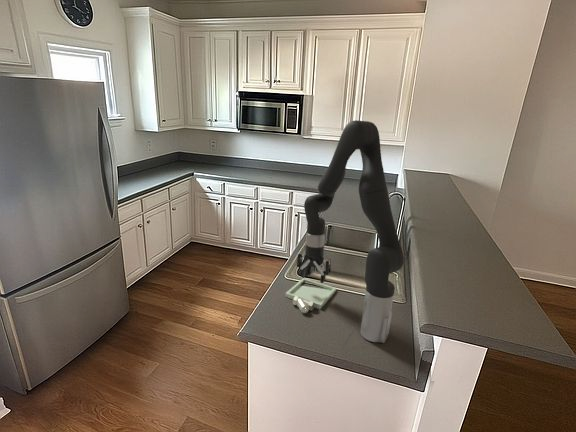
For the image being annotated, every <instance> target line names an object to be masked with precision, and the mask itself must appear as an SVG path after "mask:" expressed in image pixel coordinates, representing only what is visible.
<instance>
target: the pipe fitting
mask: <svg viewBox="0 0 576 432" xmlns="http://www.w3.org/2000/svg"><path fill="white" fill-rule="evenodd" d="M292 305H294V306H297V308H298V309H299V310H300V312H301V313H302V314H307V313H308V312H309V311H313V310H314V309H315V307H314V306H315V302H313V301H309V300H306V299H303V298H300V297H298V296H295V297H294V299H292Z"/></svg>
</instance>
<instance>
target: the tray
mask: <svg viewBox="0 0 576 432" xmlns="http://www.w3.org/2000/svg"><path fill="white" fill-rule="evenodd" d="M304 282H305V283H307V284H311V285H314V286H317V287H314V286H313V287H312V286H305V285H302V284H303V283H304ZM335 292H337V287H334V286H331V285H328V284H325V283H320V282H318V281H315V280H313V279H309V278H305V277H304V278H301V279H300V280H299V281H298V282H297V283H296V284H295V285H293V286H292V287H291V288H289V290H287V291H285V297H286V298H288V299H291V300H293V299H294V297H295V296H298V297H300V298H303V299H306V300H309V301H313V302H315V306H314V309H318V310H322V309H323V307H324V306H325V305H326V303H328V301H329V300H330V299H331V298H332V296H333V295H334V294H335Z"/></svg>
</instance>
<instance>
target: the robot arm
mask: <svg viewBox="0 0 576 432" xmlns="http://www.w3.org/2000/svg"><path fill="white" fill-rule="evenodd" d="M379 133H380V132H379V130H378V127H377V125H376V124H375V123H374V122H372V121H367V120H351V121H350V122H348V123H347V124H346V125H345V127H344V128H343V130H342V132H341V135H340V137H339V140H338V143H337V145H336V148H335V151H334V153H333V156H332V159H331V161H330V163H329V165H328V167H327V169H326V170H325V172H324V174H323V176H322V177H321V179H320V181H319V183H318V185H317V190H318V192H319V193H318V194H313V195H309V196H307V197H306V199H305V200H304V205H303V208H304V214H305V218H306V222H307V223H306V235H305V246H304V247H305V249H304V252H300V253H298V254H297V258H296V259H297V260H296V267H297V268H299V269H300V276H301V279H303V278H305V277H306V272H307V271H306V270H307V268H306V267H307V266H308V267H313V268H314V269H317V271H318V272H319V273H320V280H319V281H320V282H319V283H322V284H324V283H325V282H326V279H327V278H326V277H327V276H329V274H331V270H332V269H331V266H332V265H331V264H332V261H331V259H330V258H329V259H325V258H324V254H325V239H326V238H325V231H326V220H325V219H324V218H322V217H320V215H319V214H320V213H324V212H326V211H327V210H329V208H331V206H332V204H333V200H334V198H335V193H336V192H337V191H338V189H339V188H340V186H341V184H342V183H343V181H344V179H345V175H346V169H347V164H348V162H349V159H350V158H351V156H352V155H353V154H354V152H355V151H357V150H359V152H360V156H361V164H362V171H361V175H360V180H359V184H358V194H359V200H360V205H361V209H362V211H363V214H364V215H365V216H366V218H367V219H368V221H369V222H370V223H371V225H372V226H373V228H374V229H375V231H376V234H377V236H378V242H379V246H378V247H375V248H372V249H370V250H369V252H368V253H367V256H366V259H365V274H364V281H365V286H366V287H365V293H364V301H363V310H362V316H361V323H360V335H361V336H362V337H363V338H364V339H365V340H367V341H369V342H373V343H382V344H385V343H386V341H387V338H388V337H389V334H390V329H391V328H390V327H391V321H392V315H393V310H392V307H393V301H394V296H395V289H396V288H395V284H393V282H392V281H390V280H389V276H390V274H392V273H396V272H398V271H400V270H401V269H402V268H403V266H404V263H405V262H404V260H405V258H404V252H403V249H402V246H401V243H400V240H399V236H398V233H397V230H396V227H395V226H396V225H395V219H394V216H393V212H392V207H391V201H390V195H389V191H388V187H387V182H386V177H385V171H384V166H383V161H382V150H381V138H380V134H379ZM303 260H305V262H304V263H303ZM323 263H324V264H323Z"/></svg>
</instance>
